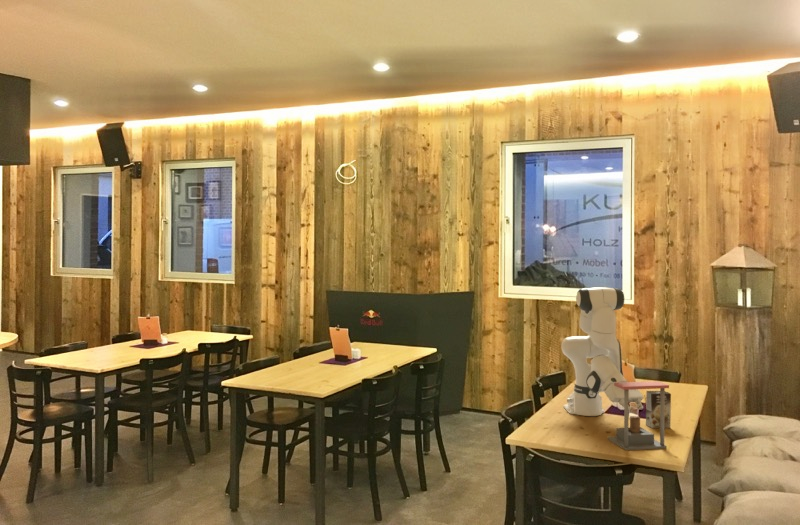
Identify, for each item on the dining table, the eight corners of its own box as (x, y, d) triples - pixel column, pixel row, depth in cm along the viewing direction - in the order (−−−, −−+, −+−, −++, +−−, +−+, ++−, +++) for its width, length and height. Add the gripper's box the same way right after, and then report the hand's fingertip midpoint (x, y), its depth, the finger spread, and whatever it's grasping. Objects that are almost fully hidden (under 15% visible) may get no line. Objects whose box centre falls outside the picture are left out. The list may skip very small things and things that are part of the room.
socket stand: (605, 439, 266) (605, 379, 266) (648, 437, 269) (648, 377, 269) (623, 450, 251) (623, 386, 250) (668, 448, 254) (669, 385, 253)
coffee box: (651, 428, 283) (651, 393, 283) (645, 424, 289) (645, 390, 289) (671, 428, 283) (671, 393, 283) (664, 424, 290) (664, 390, 289)
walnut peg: (627, 439, 262) (627, 416, 262) (634, 438, 264) (634, 415, 264) (635, 442, 258) (635, 418, 258) (642, 441, 260) (642, 417, 260)
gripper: (626, 388, 287) (644, 412, 277) (598, 388, 275) (616, 413, 266) (635, 379, 283) (653, 404, 274) (606, 379, 272) (625, 404, 263)
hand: (635, 408), depth 270 cm, fingers open, 8 cm apart
